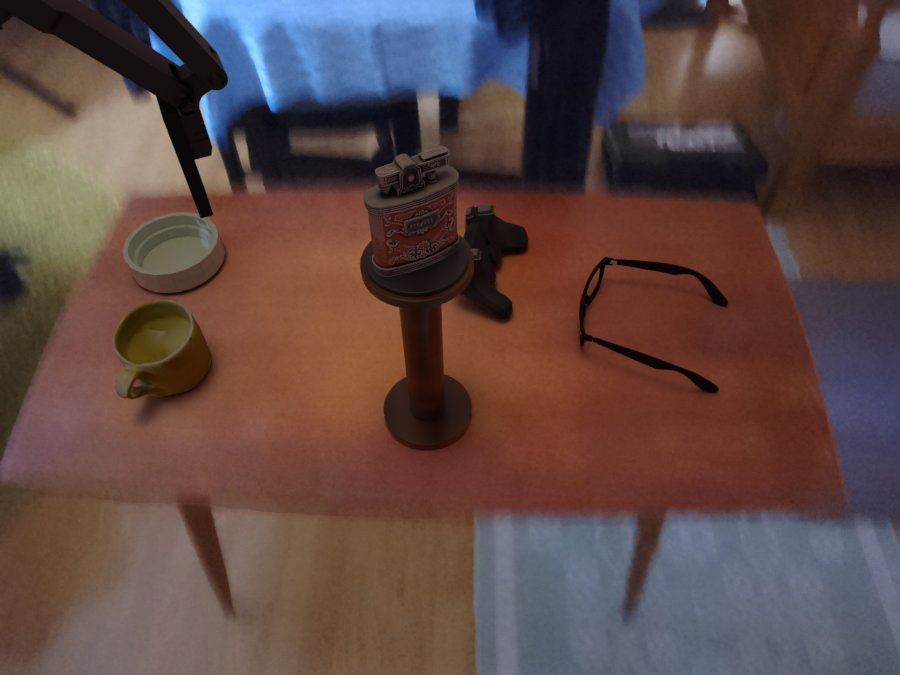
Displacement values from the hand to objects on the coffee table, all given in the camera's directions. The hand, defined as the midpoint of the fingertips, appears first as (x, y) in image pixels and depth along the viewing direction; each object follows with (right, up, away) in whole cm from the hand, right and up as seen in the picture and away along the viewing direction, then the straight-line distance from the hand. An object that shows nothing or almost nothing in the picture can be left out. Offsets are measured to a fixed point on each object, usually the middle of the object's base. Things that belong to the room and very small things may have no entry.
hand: (82, 236), depth 39 cm
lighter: (+18, +1, +21) cm, 28 cm away
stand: (+18, -14, +39) cm, 46 cm away
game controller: (+26, +2, +54) cm, 60 cm away
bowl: (-17, +5, +56) cm, 59 cm away
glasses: (+46, -5, +47) cm, 66 cm away
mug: (-13, -11, +43) cm, 46 cm away
